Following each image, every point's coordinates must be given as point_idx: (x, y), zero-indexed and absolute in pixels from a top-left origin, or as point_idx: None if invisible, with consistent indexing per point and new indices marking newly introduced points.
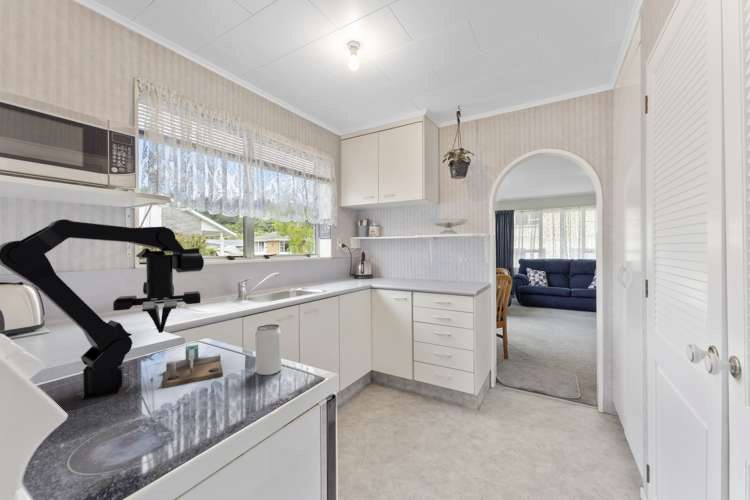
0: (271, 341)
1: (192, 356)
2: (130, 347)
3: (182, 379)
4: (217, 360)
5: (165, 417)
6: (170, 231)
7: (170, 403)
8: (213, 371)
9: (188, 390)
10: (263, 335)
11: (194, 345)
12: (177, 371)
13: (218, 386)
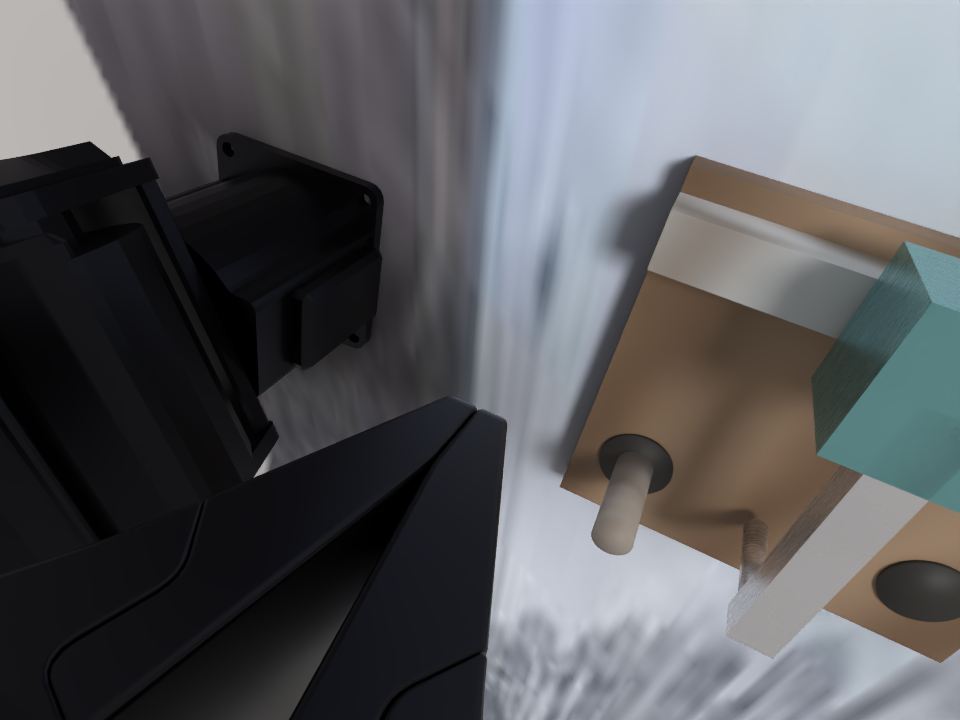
0: None
1: (757, 646)
2: (235, 483)
3: (670, 530)
4: None
5: (515, 686)
6: None
7: (552, 631)
8: (897, 612)
9: (659, 604)
10: None
11: None
12: (709, 370)
13: (798, 697)
